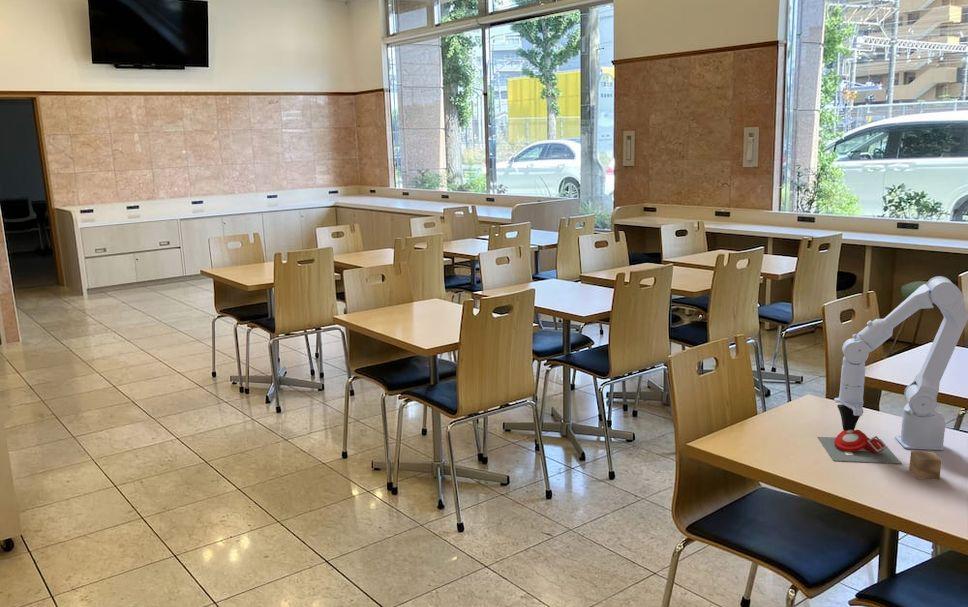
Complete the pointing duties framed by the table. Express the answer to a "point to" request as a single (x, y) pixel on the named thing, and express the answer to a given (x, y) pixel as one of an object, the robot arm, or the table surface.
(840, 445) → the tracker holder
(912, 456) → the walnut cube
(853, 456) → the letter mat
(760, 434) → the table surface
